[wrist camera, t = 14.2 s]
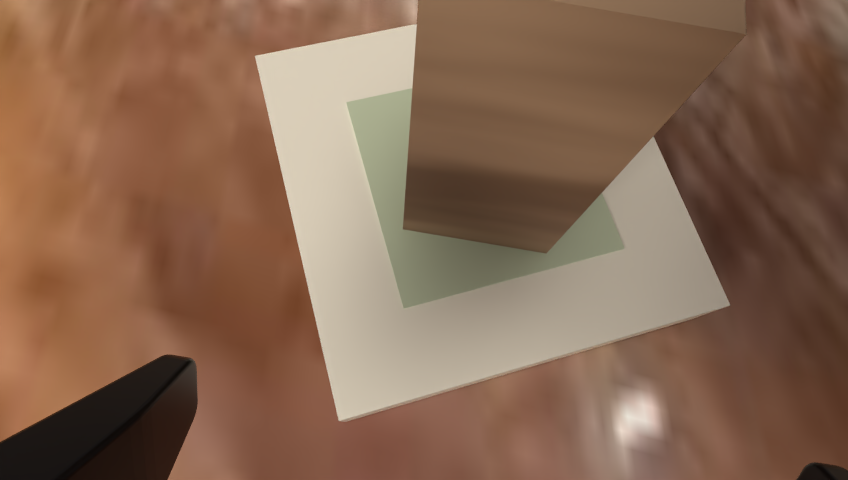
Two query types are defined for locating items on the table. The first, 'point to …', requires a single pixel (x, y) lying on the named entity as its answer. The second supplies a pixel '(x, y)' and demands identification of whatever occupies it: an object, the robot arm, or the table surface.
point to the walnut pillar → (545, 105)
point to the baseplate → (454, 244)
